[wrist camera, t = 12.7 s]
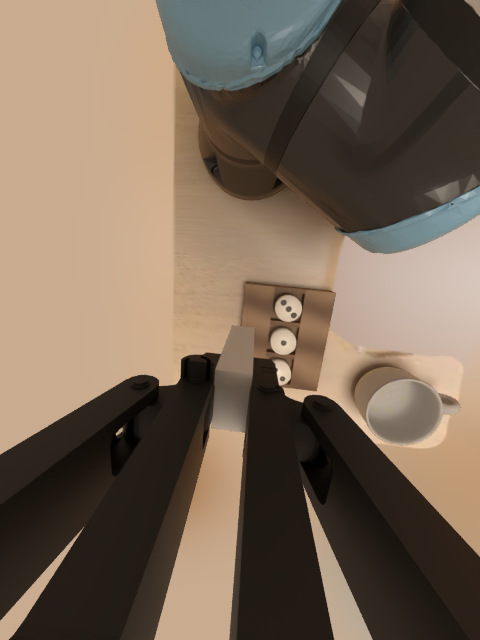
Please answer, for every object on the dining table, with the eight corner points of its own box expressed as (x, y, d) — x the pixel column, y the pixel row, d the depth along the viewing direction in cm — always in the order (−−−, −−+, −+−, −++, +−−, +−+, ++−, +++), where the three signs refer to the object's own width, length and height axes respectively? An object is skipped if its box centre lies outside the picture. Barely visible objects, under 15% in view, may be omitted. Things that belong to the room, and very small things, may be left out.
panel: (246, 282, 39) (245, 283, 36) (331, 291, 38) (336, 293, 36) (236, 374, 43) (235, 381, 41) (313, 383, 42) (316, 391, 40)
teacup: (341, 409, 43) (360, 441, 36) (354, 355, 41) (377, 377, 33) (418, 418, 43) (454, 453, 35) (436, 364, 40) (479, 388, 32)
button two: (267, 355, 40) (268, 361, 38) (290, 358, 40) (292, 364, 38) (264, 376, 41) (265, 384, 39) (287, 378, 41) (289, 386, 39)
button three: (275, 292, 38) (277, 294, 35) (300, 294, 38) (304, 297, 35) (272, 316, 39) (273, 320, 36) (296, 318, 39) (299, 323, 36)
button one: (271, 324, 39) (272, 329, 36) (295, 327, 39) (298, 332, 36) (268, 347, 40) (269, 353, 37) (291, 349, 40) (294, 356, 37)
